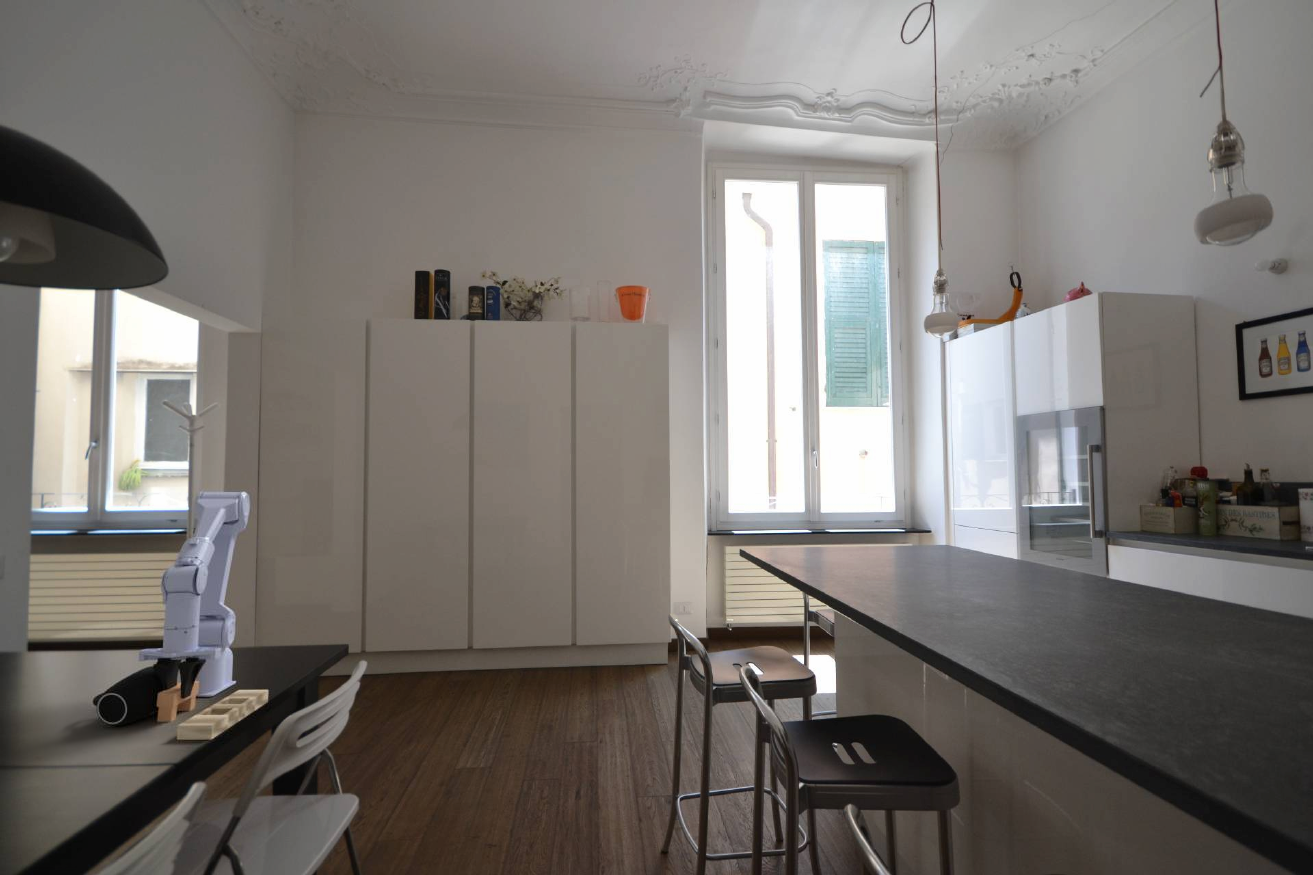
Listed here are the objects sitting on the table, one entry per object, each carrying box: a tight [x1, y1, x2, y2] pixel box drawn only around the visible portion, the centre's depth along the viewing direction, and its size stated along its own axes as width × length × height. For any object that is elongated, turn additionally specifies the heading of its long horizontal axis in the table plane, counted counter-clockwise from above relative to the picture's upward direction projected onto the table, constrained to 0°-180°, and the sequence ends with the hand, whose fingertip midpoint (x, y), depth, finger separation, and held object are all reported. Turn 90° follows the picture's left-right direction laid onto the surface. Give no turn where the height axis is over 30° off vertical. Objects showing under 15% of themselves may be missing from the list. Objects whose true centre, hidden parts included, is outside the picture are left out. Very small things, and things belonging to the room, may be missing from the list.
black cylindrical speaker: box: [92, 665, 164, 726], centre depth 132 cm, size 12×9×10 cm
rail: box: [176, 689, 269, 741], centre depth 132 cm, size 20×6×2 cm, turn 4°
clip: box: [156, 681, 199, 723], centre depth 135 cm, size 8×3×6 cm, turn 4°
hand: (177, 697), depth 134 cm, fingers closed on clip, 2 cm apart
